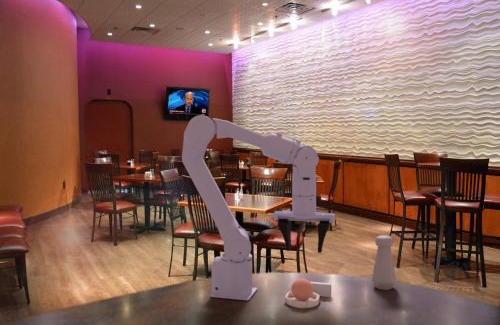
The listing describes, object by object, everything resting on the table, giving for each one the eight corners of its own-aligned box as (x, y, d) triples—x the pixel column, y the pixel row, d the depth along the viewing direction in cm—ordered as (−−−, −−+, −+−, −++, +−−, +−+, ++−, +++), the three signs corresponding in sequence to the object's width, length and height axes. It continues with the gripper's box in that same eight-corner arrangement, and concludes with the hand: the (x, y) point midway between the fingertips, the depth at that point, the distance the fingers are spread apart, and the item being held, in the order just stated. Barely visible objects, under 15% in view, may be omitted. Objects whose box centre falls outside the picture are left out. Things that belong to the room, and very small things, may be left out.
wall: (297, 294, 112) (297, 281, 112) (298, 292, 113) (298, 280, 112) (330, 297, 109) (330, 284, 109) (331, 295, 110) (331, 283, 110)
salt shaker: (396, 292, 113) (397, 239, 112) (372, 290, 114) (373, 238, 113) (394, 284, 118) (395, 234, 117) (371, 282, 119) (371, 233, 119)
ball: (289, 303, 105) (288, 281, 105) (293, 295, 110) (293, 275, 109) (311, 304, 104) (310, 282, 103) (314, 297, 108) (314, 276, 108)
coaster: (282, 306, 104) (282, 300, 104) (289, 294, 111) (289, 289, 111) (316, 309, 102) (316, 303, 102) (321, 297, 109) (321, 291, 109)
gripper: (270, 196, 110) (271, 252, 111) (332, 198, 105) (332, 257, 106) (277, 192, 116) (278, 245, 117) (336, 194, 112) (335, 249, 113)
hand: (304, 250), depth 112 cm, fingers open, 7 cm apart
